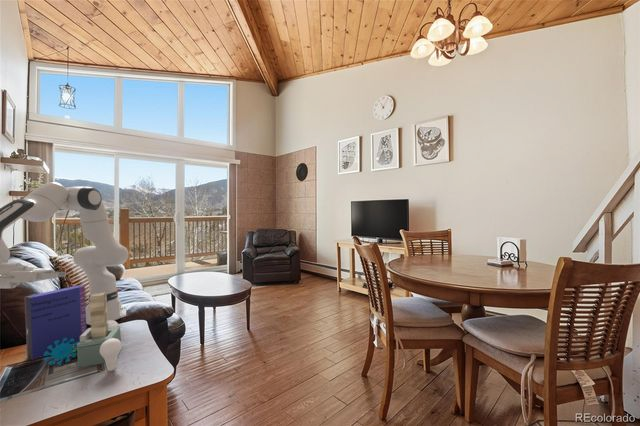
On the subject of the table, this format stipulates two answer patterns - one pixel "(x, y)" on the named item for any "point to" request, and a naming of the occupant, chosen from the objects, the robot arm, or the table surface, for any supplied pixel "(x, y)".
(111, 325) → the penguin figurine
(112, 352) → the lightbulb
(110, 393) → the table surface
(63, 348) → the gear
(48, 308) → the cereal box
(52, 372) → the table surface
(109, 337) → the lid
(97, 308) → the beige tall ridged block
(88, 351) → the green open box
